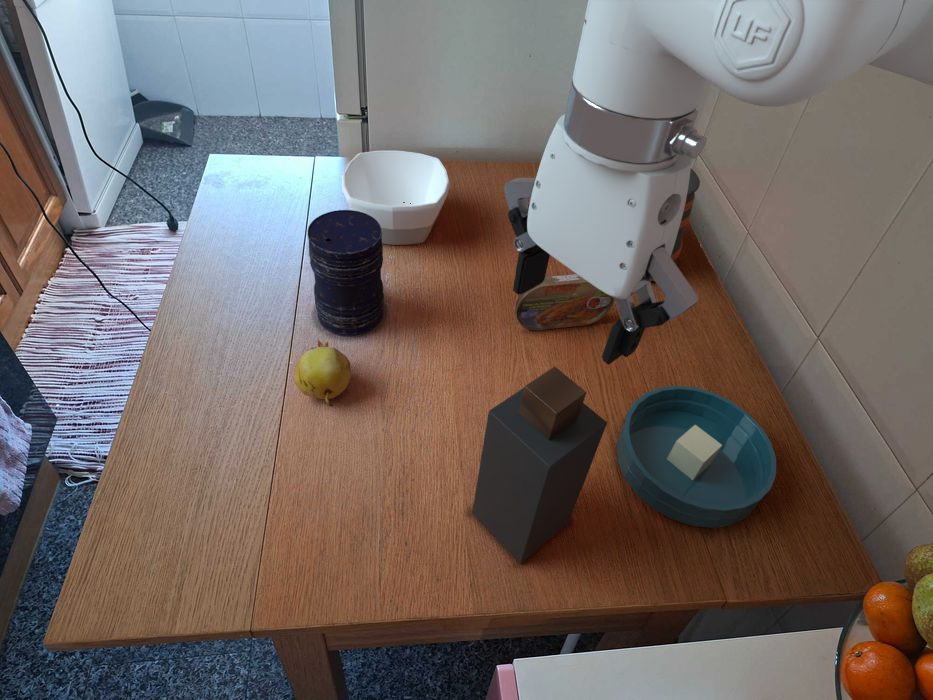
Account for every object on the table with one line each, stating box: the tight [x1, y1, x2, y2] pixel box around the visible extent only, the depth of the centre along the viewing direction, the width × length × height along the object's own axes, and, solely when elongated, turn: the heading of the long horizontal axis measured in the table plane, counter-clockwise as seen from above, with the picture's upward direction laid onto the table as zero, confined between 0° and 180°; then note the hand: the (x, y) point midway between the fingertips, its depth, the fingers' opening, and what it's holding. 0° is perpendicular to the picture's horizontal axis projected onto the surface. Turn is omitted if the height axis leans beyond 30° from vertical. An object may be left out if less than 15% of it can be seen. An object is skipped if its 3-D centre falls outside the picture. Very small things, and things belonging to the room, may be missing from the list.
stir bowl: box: [615, 385, 777, 529], centre depth 80 cm, size 18×18×4 cm
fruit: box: [293, 339, 352, 408], centre depth 83 cm, size 7×7×10 cm
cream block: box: [667, 425, 722, 480], centre depth 80 cm, size 4×4×4 cm
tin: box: [513, 273, 615, 331], centre depth 95 cm, size 15×3×8 cm, turn 102°
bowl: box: [340, 150, 451, 246], centre depth 109 cm, size 18×18×9 cm
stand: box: [471, 387, 608, 565], centre depth 68 cm, size 8×8×19 cm
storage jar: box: [307, 209, 385, 338], centre depth 90 cm, size 10×10×15 cm
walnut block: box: [519, 366, 587, 440], centre depth 59 cm, size 4×4×4 cm
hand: (570, 319), depth 52 cm, fingers open, 9 cm apart
